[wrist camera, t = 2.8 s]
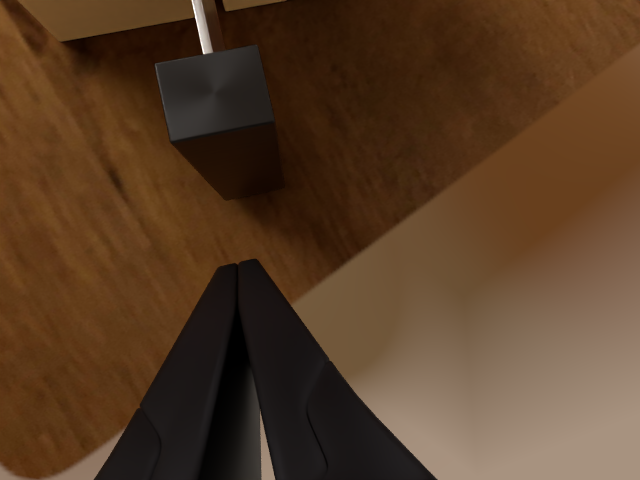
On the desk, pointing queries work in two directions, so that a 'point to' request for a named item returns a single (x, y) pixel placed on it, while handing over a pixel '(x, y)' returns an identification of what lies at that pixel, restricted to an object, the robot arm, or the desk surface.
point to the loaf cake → (114, 14)
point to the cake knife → (222, 112)
